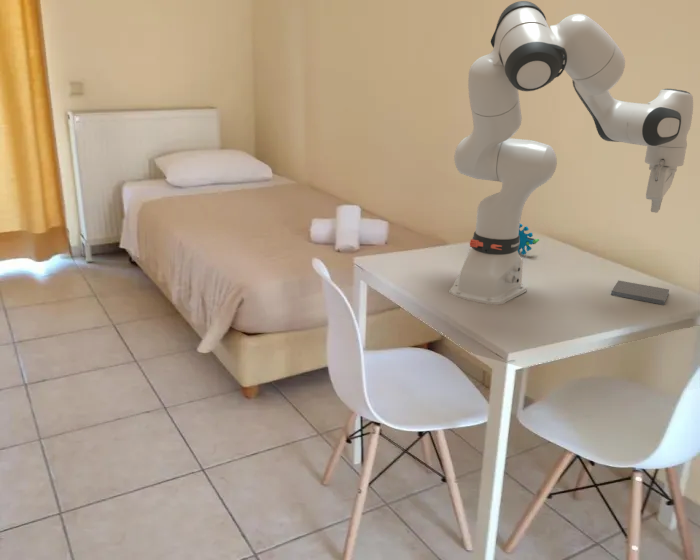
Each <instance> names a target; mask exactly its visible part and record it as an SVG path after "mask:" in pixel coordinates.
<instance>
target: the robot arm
mask: <svg viewBox="0 0 700 560" xmlns="http://www.w3.org/2000/svg"><path fill="white" fill-rule="evenodd" d="M490 44H491V46H492V48H493V49H492V50H491V52H490V53H488V54H485V55H482V56H480V57H478V58H477V59H476V60H474V62H473V63H472V64H471V66H470V68H469V71H468V81H467V83H468V84H467V85H468V87H467V88H468V98H469V104H470V105H469V106H470V111H471V116H472V123H473V125H472V126H473V129H472V132H471V133H470V134H469V135H467V136H466V137H464V138H463V139H461V141H460V142H459V143H458V144H457V146H456V147H455V150H454V156H453V157H454V159H453V161H454V164H455V168H456V169H457V171H458V173H459V174H461V175H464V176H466V177H470V178H473V179H477V180H485V181H492V182H499V183H501V185H502V186H501V189H500V191H499V192H496V193H492V194H491V195H488V196H486V197H484V198H483V199H482V200H481V201H480V202H479V203H478V206H477V211H476V212H477V213H476V223H475V231H474V233H473V236H472V238H471V239H470V241H469V247H471V248H470V249H469V250H468V252H467V255H466V258H465V261H464V263H463V265H462V267H461V270H460V273H459V275H458V276H457V277H456V279H455V281H454V283H453V284H452V285H451V288H450V289H449V291H448V292H449V294H451V295H453V296H455V297H457V298H460V299H464V300H467V301H471V302H474V303H481V304H487V305H498V306H499V305H503V304H505V303H507V302H509V301H511V300H512V299H514V298H516V297H518V296H520V295H522V294H524V293H527V290H528V288H527V286H526V285H524V284H522V282H523V266H524V264H523V263H524V260H523V258H522V257H521V255H520V254H519V253H520V252H519V253H518V249H519V244H520V236H519V235H518V234H519V226H520V224H521V218H522V213H523V210H524V207H525V204H526V202H527V201H528V198H529V197H530V196H531V194H533V192H535V190H536V189H538V188H539V187H541V186H543V185H544V184H546V183H547V182H549V180H551V178H552V177H553V176H554V174H555V172H556V168H557V166H558V165H557V164H558V163H557V162H558V159H557V155H556V152H555V150H554V149H553V146H552V145H550V144H547V143H543V142H540V141H537V140H531V139H523V138H522V139H521V138H513V136H514V135H515V134H516V133H517V132H518V131H519V129H520V128H521V125H522V120H523V118H522V110H521V103H520V95H519V91H522V92H534V91H536V90H537V91H538V90H539V89H542V88H545V86H547V85H549V84H550V83H551V82H552V81H554V80H555V79H556V78H558V77H559V76H561V75H562V74H563V72H564V71H565V72H566V74H567V75H568V76H569V77H570V78H571V80H572V87H573V89H574V91H575V93H576V94H577V96H578V98H579V99H580V100H581V103H582V104H583V105H584V107H585V108H586V110H587V112H589V115H590V116H591V117H592V120H593V122H594V125H595V128H596V131H597V134H598V136H599V137H600V138H601V139H603V140H604V141H607V142H612V143H613V142H615V143H625V144H631V145H638V146H645V147H646V152H645V157H644V163H645V164H648V165H649V167H648V169H649V170H650V174H649V177H648V182H647V187H646V193H645V198H646V200H649V201H651V207H650V212H651V213H655V214H656V213H659V211H660V210H661V206H662V202H663V199H664V196H665V195H666V194H667V192H668V191H669V190H670V188H671V187H672V184H673V181H674V178H675V175H676V172H677V170H678V167H682V166H684V163H685V158H686V151H687V147H688V141H687V138H688V135H689V131H690V130H691V127H692V120H693V114H694V113H693V112H694V98H693V97H694V96H693V94H691V93H690V92H688V91H687V90H681V89H676V88H664V89H663V88H662V89H660V91H659V92H658V95H657V97H655V98H654V99H653V100H651V101H648V102H647V103H640V102H633V101H632V102H630V101H625V100H624V101H623V100H619V99H616V98H615V97H613V95H611V92H610V90H611V89H612V88H614V87H615V86H616V84H617V83H618V82H619V81H620V80H621V78H622V76H623V74H624V71H625V67H626V59H625V55H624V53H623V51H622V49H621V48H620V47H619V45H618V44H617V42H616V41H615V40H614V38H612V36H610V34H609V33H608V32H607V31H606V30H605V29H604V28H603V27H602V26H601V25H600V24H599V23H598V22H596V21H595V20H594V19H592V18H591V17H589V16H588V15H587V14H584V13H574V14H569V15H568V16H566V17H565V18H563V19H561V20H560V22H558V23H556V24H553V25H552V24H550V26H549V24H548V22H547V18H546V15H545V13H544V12H543V11H542V9H541V8H540V7H539V6H538V5H536V4H535V3H533V2H531V1H528V0H520V1H515V2H513V3H511V4H510V5H508V6H507V7H505V9H504V10H503V11H502V13H501V14H500V16H499V18H498V20H497V23H496V27H495V30H494V31H493V35H492V36H491V39H490ZM511 137H512V138H511Z"/></svg>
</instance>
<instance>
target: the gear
mask: <svg viewBox="0 0 700 560" xmlns="http://www.w3.org/2000/svg"><path fill="white" fill-rule="evenodd" d="M523 226H524V225H523V224H522V223H520V226H519V234H518V235H519V236H520V244H519V249H518V253H519V255H520V254H521V255H523V256H524V255H527V252H529V251H531V250H532V249H533V248H532V247H531V245H536V244H537V243H538V242H539V241H540V239H539V238H533V232H529V233H525V232H527V231H529V230H530V228H529V226H524V227H523ZM521 228H522V230H521ZM519 251H520V252H519Z"/></svg>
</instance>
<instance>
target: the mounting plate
mask: <svg viewBox="0 0 700 560" xmlns="http://www.w3.org/2000/svg"><path fill="white" fill-rule="evenodd" d="M669 293H670V288H663V287H658V286H652V285H648V284H647V285H646V284H643V283H641V284H640V283H636V282H629V281H624V280H620V279H619V280H617V281H616V283H615V285H614V287H613V288H612V290H611V294H610V295H611V296H615V297H619V298H625V299H628V300H629V299H630V300H634V301H640V302H646V303H650V304H656V305H661V306H665V304H666V301H667V299H668V296H669Z"/></svg>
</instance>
